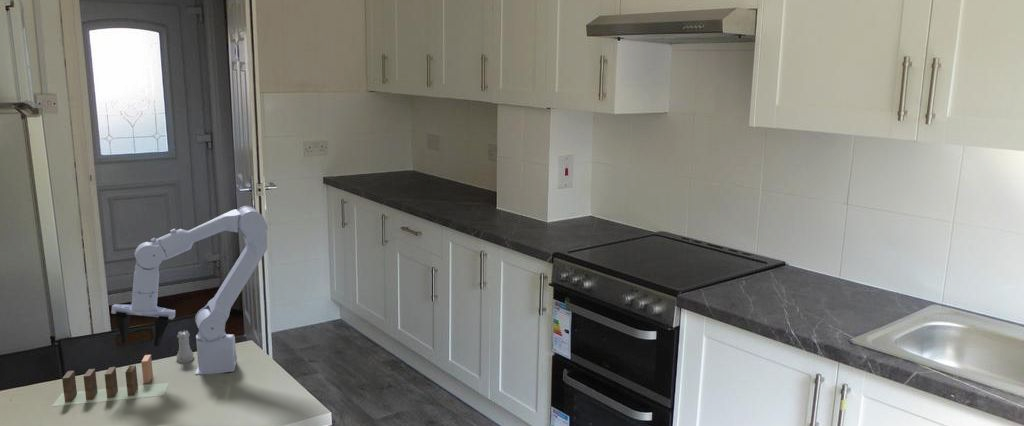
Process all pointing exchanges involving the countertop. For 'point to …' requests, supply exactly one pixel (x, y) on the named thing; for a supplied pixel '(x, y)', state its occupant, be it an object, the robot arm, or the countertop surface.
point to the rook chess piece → (184, 348)
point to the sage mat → (120, 395)
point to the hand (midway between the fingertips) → (141, 343)
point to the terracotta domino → (147, 369)
